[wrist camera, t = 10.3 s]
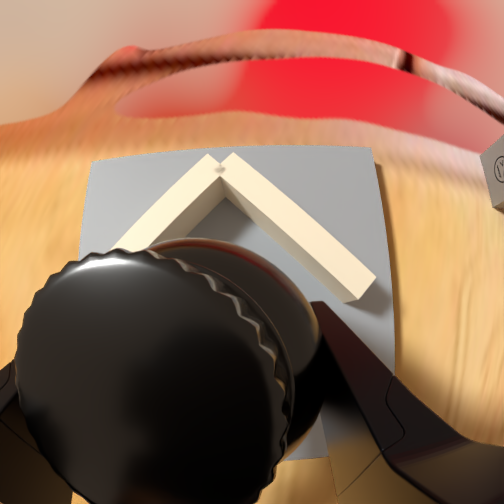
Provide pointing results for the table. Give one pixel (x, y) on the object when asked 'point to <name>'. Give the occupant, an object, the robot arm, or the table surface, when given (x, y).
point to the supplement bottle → (170, 373)
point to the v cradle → (262, 224)
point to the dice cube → (495, 172)
